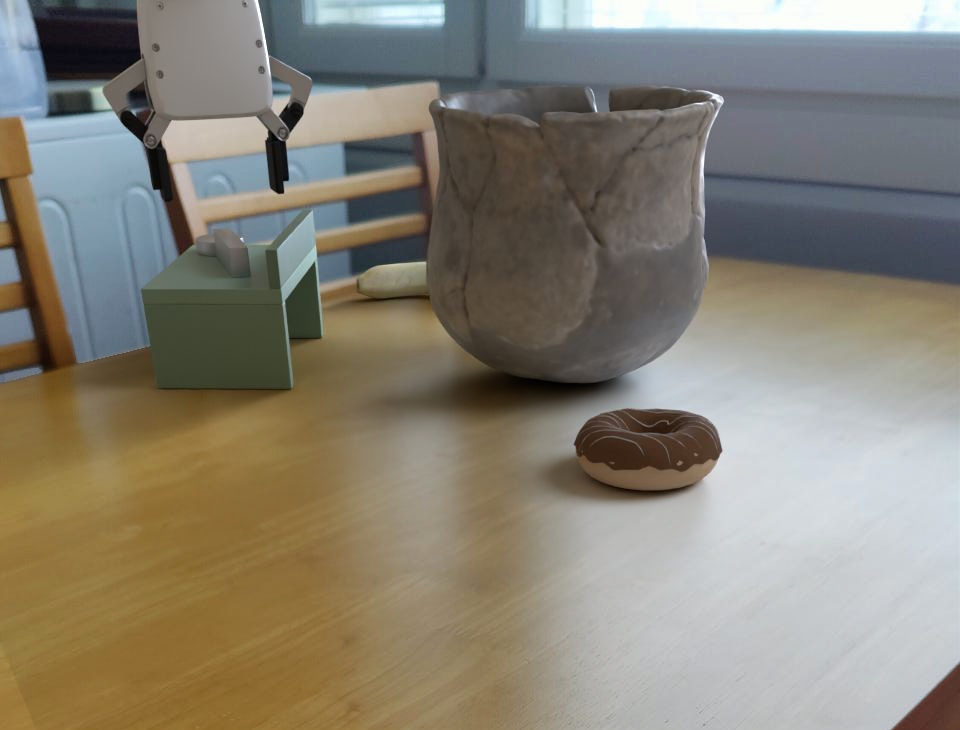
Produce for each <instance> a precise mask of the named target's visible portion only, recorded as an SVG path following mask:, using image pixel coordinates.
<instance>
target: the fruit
mask: <svg viewBox="0 0 960 730" xmlns="http://www.w3.org/2000/svg"><path fill="white" fill-rule="evenodd" d="M355 281H356V283H355V284H356V287H355V289H356V294H357V293H358V294H360V295H363V296H366V297H369V298H373V299H392V298H399V297H408V296H420V295H421V296H422V295H430V293H429V290H428V287H427V282H426V261H417V262H416V261H415V262H400V263H391V264H389V263H388V264H382V265H381V264H380V265H375V266H373V267H370V268H368V269H367V270H366V271H364V272H363V273H361V274H360V275H359V276H357V278H356V280H355Z"/></svg>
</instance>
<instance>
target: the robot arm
mask: <svg viewBox="0 0 960 730" xmlns="http://www.w3.org/2000/svg"><path fill="white" fill-rule="evenodd" d="M136 17H137V29H138V40H139V50H140V58H141V59H139V60H138V61H136V62H134V63H133V64H132V65H131V66H129V67H127V68H126V69H125V70H124V71H122V72H121V73H119V74H118V75H117V76H115V77H114V78H112V79H111V80H109V81H108V82H107V83H105V84H104V85H103V86H102V89H101V92H102V94H103V96H104V98H105V99H106V101H107V103H108V104H109V106H110V107H111V109H112V111H113V112H114V113H115V115H116V117H117V118H118V120H119V122H120V124H122V126H124V128H126V129H127V131H129V132H130V133H131V134H132V135H133V136H135V138H137V139H138V141H140V142H141V143H142V144H143V145H144V146H145V151H146V157H147V163H148V171H149V176H150V182H151V187H152V190H153V191H159V192H160V198H161V199H162V200H163V202H164V203H171V202H172V201H174V195H173V188H172V182H171V181H172V180H171V175H170V167H169V159H168V154H167V149H166V148H165V147H164V146H163V142H162V138H163V136H164V135H165V133H166V132H167V130H168V128H169V125H170V124H171V122H172V121H176V122H178V121H179V122H180V121H182V122H183V121H203V120H206V121H207V120H220V119H221V120H222V119H241V118H252V117H256V118H257V119H258V121H259V122H260V123H261V124H262V125H263V126H264V127H265V129H266V130H267V137H266V139H265V140H264V146H265V154H266V163H267V174H268V175H267V176H268V182H269V184H268V185H269V188H270V190H272V191H273V192H274V193H275V194H277V195H285V185H284V184H285V182H289V181H290V172H289V160H288V149H287V140H289V138H290V135H291V134H292V131H293V130H294V129H295V128H296V126H297V124H298V123H299V122H300V121H301V119H302V118H303V116H304V113H305V108H306V106H307V104H308V100H309V98H310V95H311V91H312V89H313V85H314V84H313V80H312V78H311V77H309V76H308V75H306V74H304V73H302V72H301V71H298V70H297V69H295V68H293V67H292V66H290V65H287V64H286V63H284V62H283V61H280V60H279V59H277V58H276V57H274V56H272V55H270V54H268V47H267V41H266V36H265V30H264V29H265V28H264V24H263V19H262V18H263V17H262V14H261V8H260V4H259V0H136ZM272 77H274V78H276V79H278V80H279V81H281V82H283V83H285V84H287V85H288V86H289V87H290V89H291V93H290V97H289V101H288V102H287V103H286V104H285V107H284V108H283V109H282V111H281V112H280V113H279V114H277V113H276V112H275V111H274V110H273V109H272V107H273V103H274V102H273V101H274V93H273V81H272ZM142 83H143V84H144V89H145V95H146V99H147V103H148V106H149V108H150V109H151V110H152V111H151V113H150V114H149V116H148V117H147V119H146V121H145V123H144V122H143V121H142V120H141V119H140V118H138V117H137V116H136V115H135V114H134V113H133V111H132V109H131V108H130V106H129V105H128V103H127V101H126V95H127V94H129V92H131V91H132V90H134V89H135V88H137V87H138V86H139V85H140V84H142Z"/></svg>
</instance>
